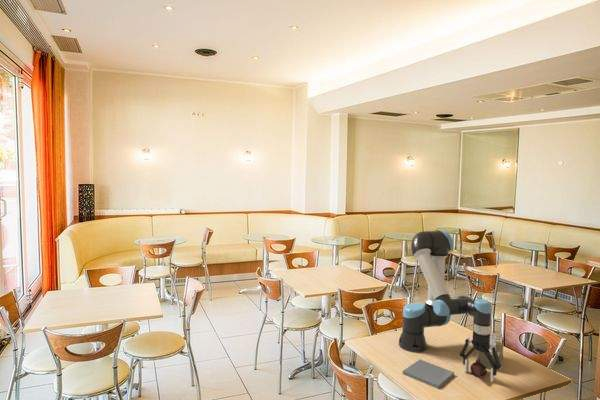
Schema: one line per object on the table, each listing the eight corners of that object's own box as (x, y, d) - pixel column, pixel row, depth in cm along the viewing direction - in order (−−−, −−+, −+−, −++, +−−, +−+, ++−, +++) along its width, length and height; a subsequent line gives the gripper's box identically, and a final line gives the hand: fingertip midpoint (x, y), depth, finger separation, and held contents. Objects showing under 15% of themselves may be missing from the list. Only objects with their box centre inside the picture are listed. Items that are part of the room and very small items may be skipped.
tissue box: (498, 372, 197) (499, 341, 196) (476, 366, 202) (478, 336, 201) (502, 357, 213) (504, 328, 212) (482, 352, 218) (484, 324, 217)
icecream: (490, 372, 184) (486, 360, 198) (474, 365, 186) (471, 354, 201) (486, 386, 185) (482, 373, 199) (469, 379, 187) (466, 366, 201)
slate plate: (402, 373, 193) (402, 370, 193) (419, 362, 206) (419, 359, 205) (438, 388, 181) (438, 385, 181) (454, 375, 193) (454, 372, 193)
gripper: (453, 327, 196) (451, 369, 198) (505, 342, 179) (502, 389, 181) (460, 323, 201) (457, 364, 203) (511, 337, 185) (508, 382, 186)
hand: (479, 376), depth 192 cm, fingers open, 11 cm apart
